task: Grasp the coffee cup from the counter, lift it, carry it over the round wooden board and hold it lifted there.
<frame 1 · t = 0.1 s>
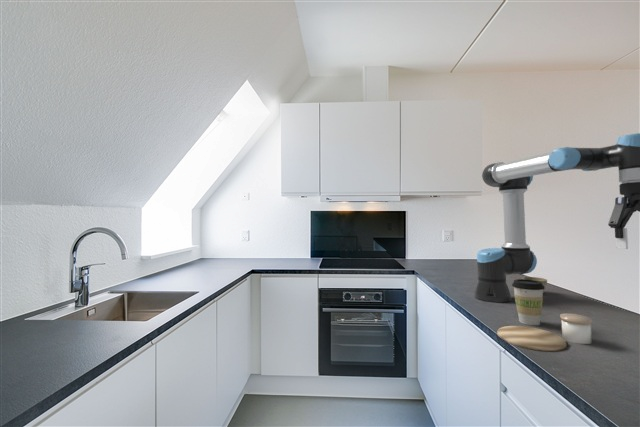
hand: (638, 247, 96), 28 cm above the worktop, fingers open, 13 cm apart
sugar jar: (576, 339, 93), on the worktop
flower pot: (535, 293, 148), on the worktop
round wooden board: (530, 338, 95), on the worktop
coffee cup: (529, 322, 109), on the worktop
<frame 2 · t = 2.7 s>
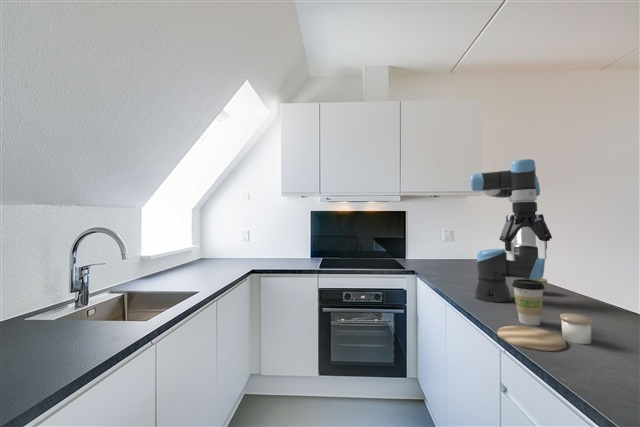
hand: (526, 259, 109), 23 cm above the worktop, fingers open, 13 cm apart
nothing on the worktop moved.
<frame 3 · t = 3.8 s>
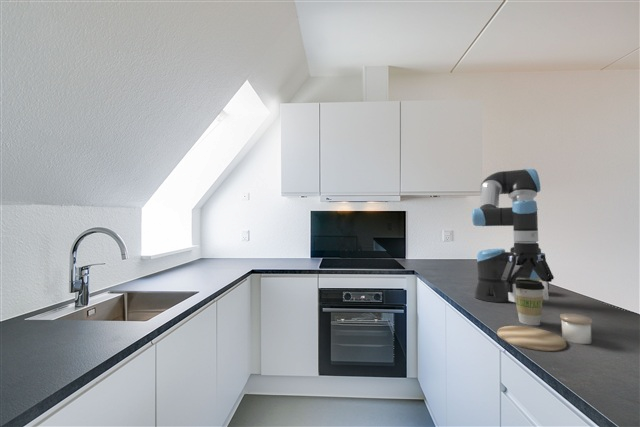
hand: (528, 300, 109), 8 cm above the worktop, fingers open, 13 cm apart
nothing on the worktop moved.
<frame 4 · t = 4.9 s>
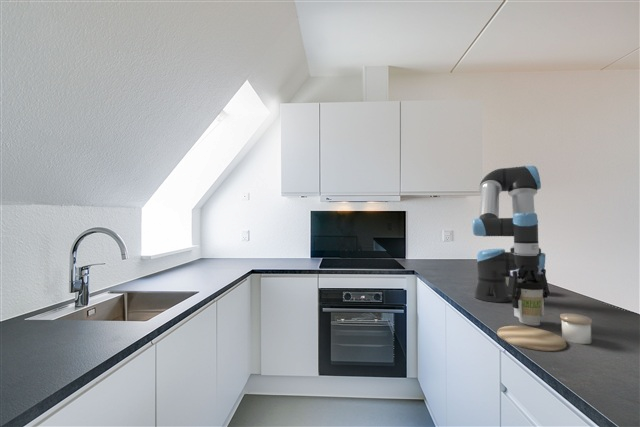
hand: (529, 315, 109), 2 cm above the worktop, fingers closed on coffee cup, 9 cm apart
coffee cup: (529, 322, 109), on the worktop, touching gripper
everything else where it was.
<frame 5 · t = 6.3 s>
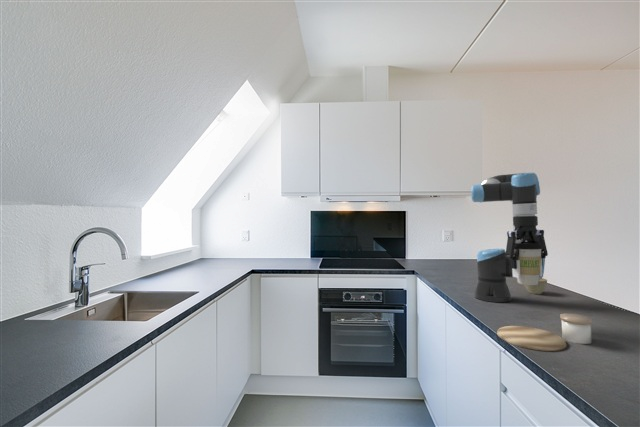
hand: (527, 276, 109), 17 cm above the worktop, fingers closed on coffee cup, 9 cm apart
coffee cup: (527, 283, 109), point 14 cm above the worktop, touching gripper
everything else where it was.
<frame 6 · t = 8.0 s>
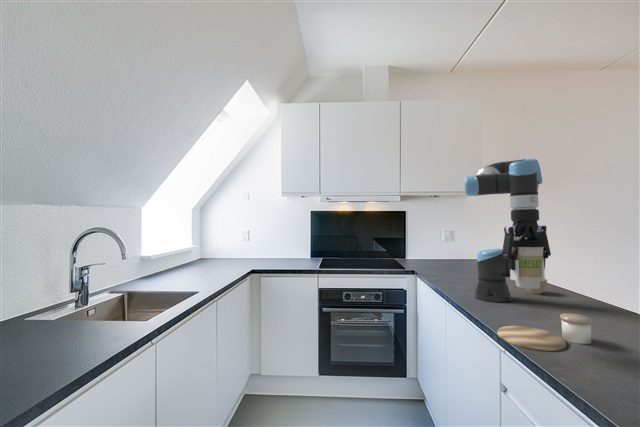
hand: (527, 279, 95), 19 cm above the worktop, fingers closed on coffee cup, 9 cm apart
coffee cup: (527, 287, 95), point 16 cm above the worktop, touching gripper
everything else where it was.
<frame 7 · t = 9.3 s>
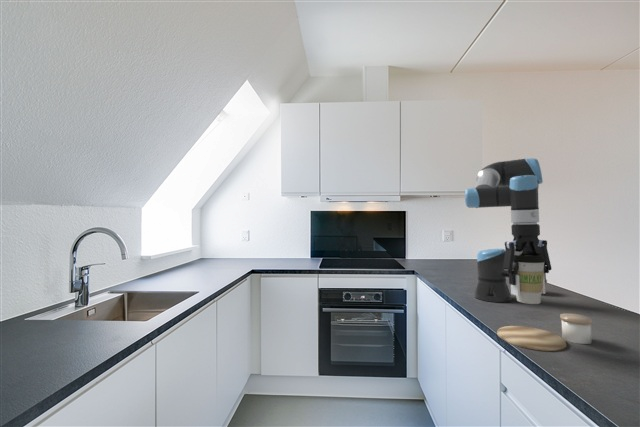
hand: (528, 293, 95), 14 cm above the worktop, fingers closed on coffee cup, 9 cm apart
coffee cup: (528, 301, 95), point 12 cm above the worktop, touching gripper
everything else where it was.
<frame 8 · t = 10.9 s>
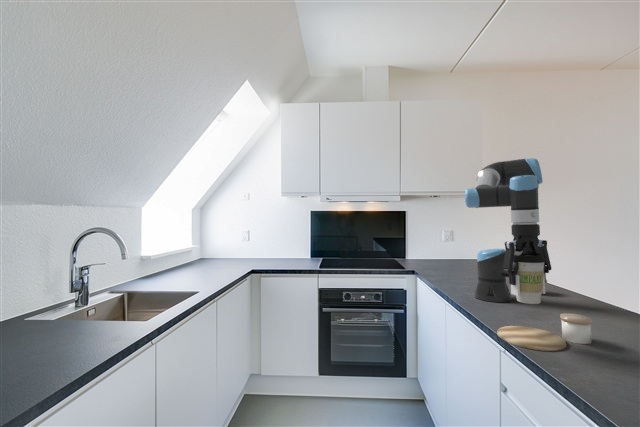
hand: (528, 293, 95), 14 cm above the worktop, fingers closed on coffee cup, 9 cm apart
coffee cup: (528, 301, 95), point 12 cm above the worktop, touching gripper
everything else where it was.
at the end: the gripper is holding coffee cup; coffee cup point 11.7 cm above the worktop; coffee cup 0.0 cm from the round wooden board (horizontally) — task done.
